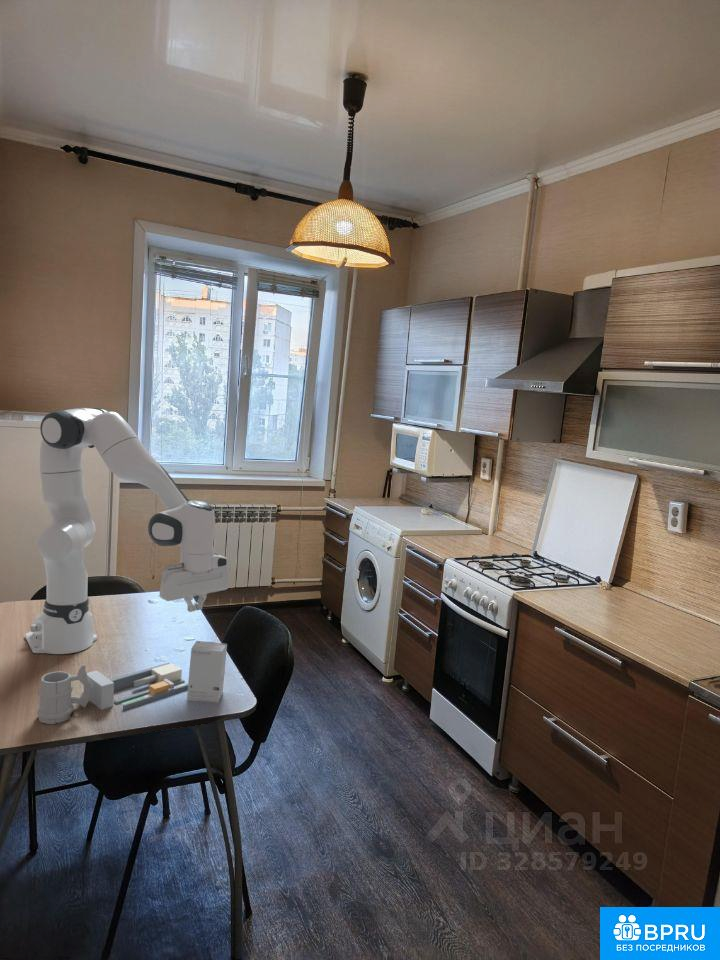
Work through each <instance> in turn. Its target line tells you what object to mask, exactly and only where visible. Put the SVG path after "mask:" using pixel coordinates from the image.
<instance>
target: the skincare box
mask: <svg viewBox="0 0 720 960" xmlns="http://www.w3.org/2000/svg"><path fill="white" fill-rule="evenodd" d="M190 649H191V650H190V661H189V673H188V683H187V684H188V689H187V695H186V701H196V702H197V701H199V702H208V703H209V702H210V703H211V702H212V703H219V702H220V700H221V697H222V696H223V693H224V682H225V673H226V672H225V671H226V661H227V660H226V659H227V649H228V644H227V643H221V642H214V641H201V640H196V641H195V642H194V644H193V645H192V647H191V648H190Z"/></svg>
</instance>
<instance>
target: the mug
mask: <svg viewBox="0 0 720 960" xmlns="http://www.w3.org/2000/svg"><path fill="white" fill-rule="evenodd" d="M87 673H88V672H87V670H86V664H85V663H82V664H81V666H80V667H79V669H78V671H77V674H73V675H71V674H70V673H69V672H67V671H60V670H58V671H52V672H48V673H46V674H43V676H41V678H40V686H39V687H40V688H38V689H39V690H38V693H37V694H38V695H39V701H38V703H39V706H38V708H37V710H36V714H37V717H38V721H39V723H43V724H48V725H55V724H60V723H63V722H66V721H67V720H69V719H70V718H71V717H72V712H73V711H74V705H73V704H76V705H80V706H81V707H82V708H86V707H87V705H88V703H90V702H91V701H90V699H91V692H92V686H91V683H90V680H89V678H88V675H87ZM74 681H79V682H80V683H81V684H82V685H83V692H82V694H81V695H80V696H78V695H72V691H73V690H74V688H73V685H72V682H74Z"/></svg>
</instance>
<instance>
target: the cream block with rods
mask: <svg viewBox="0 0 720 960" xmlns="http://www.w3.org/2000/svg"><path fill="white" fill-rule="evenodd" d="M182 672H183V669H182V668H180V667H179V666H177V665H176V664H174V663H172V662H171V663H170V664H167V665H164V666H160V667H157V668H153V669H152V672H151V676H149V677H146V678H142V679H139V680H136V681H134V685H133V687H135V688H138V687H141V686H144V685H147V684H150V683H153V682H154V684H156V683H159V682H162V681H164V682H166V683H167V684H169V688H170V689H173V688H174V683H172V682H175V681H178V680H181V679H182V677H183V676H182V674H183V673H182Z"/></svg>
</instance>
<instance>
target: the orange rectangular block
mask: <svg viewBox="0 0 720 960" xmlns="http://www.w3.org/2000/svg"><path fill="white" fill-rule="evenodd" d="M148 687H149V688H148V690H149V695H151V696H152V695H155V694H158V693H161V692H164V691H167V690H169V684H167V683H166V682H164V681H162V682H159V683H153V684H150V685H149V686H148Z"/></svg>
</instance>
